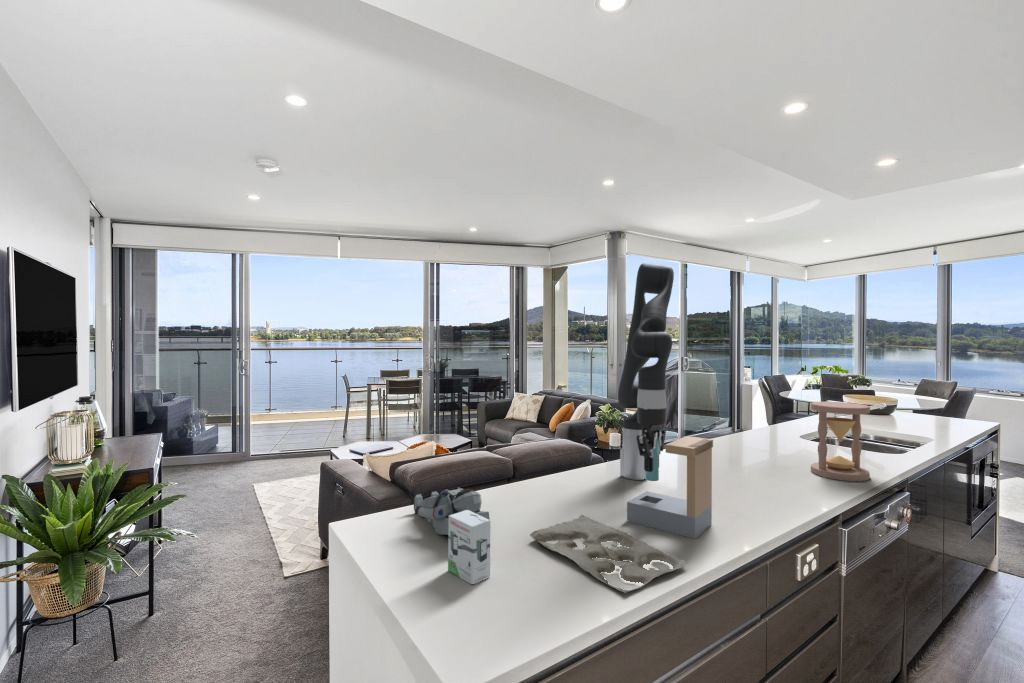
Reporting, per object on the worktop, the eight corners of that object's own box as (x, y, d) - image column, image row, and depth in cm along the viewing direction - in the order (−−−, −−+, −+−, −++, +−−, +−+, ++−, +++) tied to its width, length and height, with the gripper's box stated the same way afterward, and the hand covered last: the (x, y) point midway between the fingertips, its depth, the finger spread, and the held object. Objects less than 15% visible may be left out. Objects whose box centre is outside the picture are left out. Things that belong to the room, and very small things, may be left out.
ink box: (446, 570, 102) (446, 514, 102) (465, 563, 105) (465, 508, 105) (472, 586, 96) (472, 525, 95) (491, 577, 99) (491, 519, 99)
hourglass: (851, 468, 182) (851, 401, 182) (881, 482, 165) (882, 408, 165) (801, 467, 184) (801, 401, 184) (826, 480, 167) (826, 407, 167)
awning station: (625, 521, 129) (625, 438, 129) (648, 507, 140) (648, 431, 140) (693, 540, 117) (693, 448, 117) (712, 523, 128) (713, 439, 128)
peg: (643, 479, 131) (643, 438, 131) (648, 476, 134) (648, 436, 134) (655, 481, 129) (655, 440, 129) (660, 479, 132) (660, 438, 132)
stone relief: (624, 601, 91) (690, 569, 102) (623, 586, 91) (690, 556, 102) (522, 542, 118) (584, 522, 129) (522, 530, 118) (583, 511, 129)
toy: (451, 483, 143) (503, 483, 118) (455, 521, 141) (509, 529, 116) (396, 492, 134) (439, 494, 109) (399, 533, 132) (444, 545, 107)
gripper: (649, 402, 140) (649, 462, 139) (626, 407, 129) (626, 472, 129) (675, 404, 135) (675, 466, 135) (653, 409, 124) (653, 477, 124)
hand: (651, 469), depth 132 cm, fingers closed on peg, 3 cm apart
